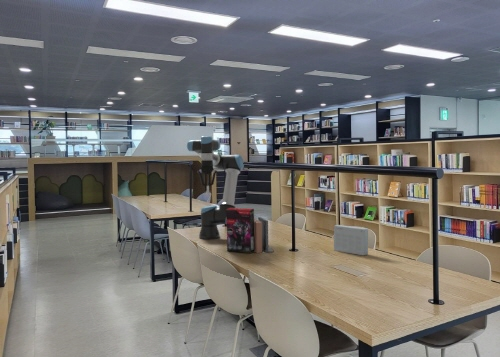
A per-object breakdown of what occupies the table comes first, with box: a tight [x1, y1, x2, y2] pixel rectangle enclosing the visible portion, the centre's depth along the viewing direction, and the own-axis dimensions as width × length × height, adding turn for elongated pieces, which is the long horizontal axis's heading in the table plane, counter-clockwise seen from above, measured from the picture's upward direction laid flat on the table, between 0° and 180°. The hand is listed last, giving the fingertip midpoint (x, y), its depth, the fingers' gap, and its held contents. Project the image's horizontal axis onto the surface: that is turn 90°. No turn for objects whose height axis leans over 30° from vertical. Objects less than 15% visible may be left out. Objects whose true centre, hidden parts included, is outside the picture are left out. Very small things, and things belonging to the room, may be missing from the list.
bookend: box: [257, 216, 275, 253], centre depth 255 cm, size 16×5×20 cm, turn 16°
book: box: [254, 218, 263, 254], centre depth 253 cm, size 13×4×19 cm, turn 16°
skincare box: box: [333, 224, 369, 256], centre depth 244 cm, size 21×6×16 cm, turn 47°
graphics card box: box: [226, 207, 255, 254], centre depth 250 cm, size 17×7×27 cm, turn 67°
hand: (207, 195), depth 261 cm, fingers closed
